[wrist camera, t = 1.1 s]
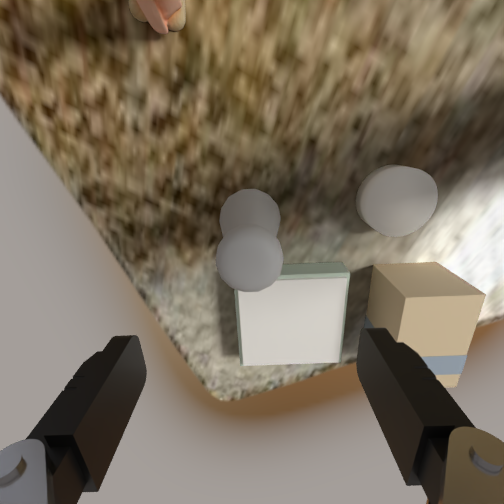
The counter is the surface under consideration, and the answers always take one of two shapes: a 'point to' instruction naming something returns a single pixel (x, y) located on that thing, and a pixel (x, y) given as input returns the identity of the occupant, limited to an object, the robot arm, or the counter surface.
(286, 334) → the podium
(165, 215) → the counter surface
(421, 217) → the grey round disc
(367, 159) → the counter surface
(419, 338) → the kraft carton
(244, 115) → the counter surface
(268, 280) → the salt shaker
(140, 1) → the grandmother figurine
